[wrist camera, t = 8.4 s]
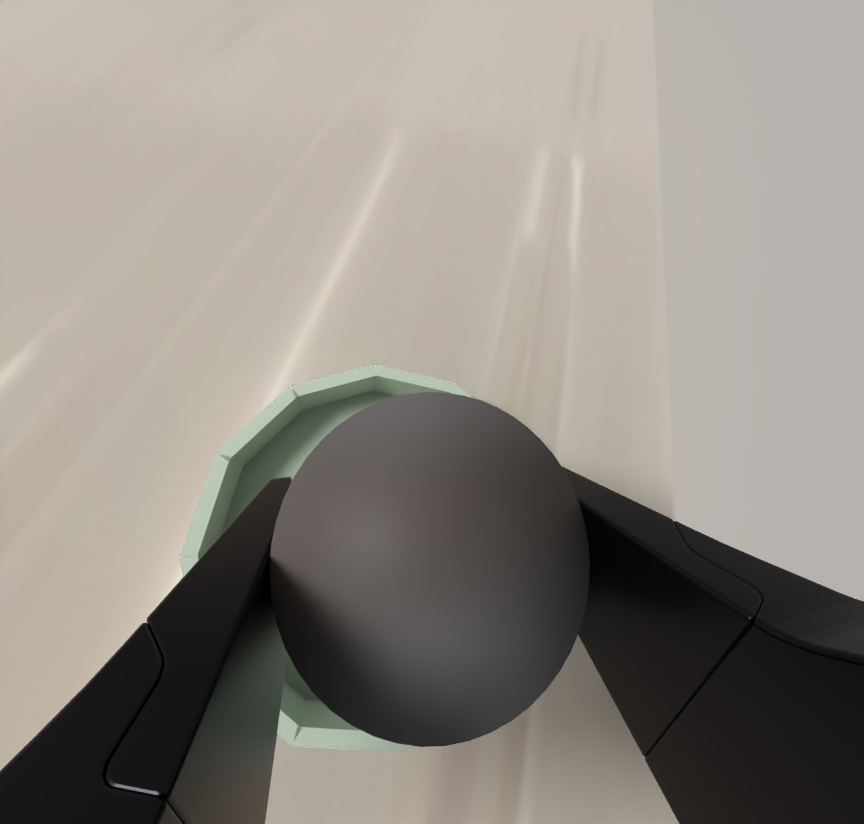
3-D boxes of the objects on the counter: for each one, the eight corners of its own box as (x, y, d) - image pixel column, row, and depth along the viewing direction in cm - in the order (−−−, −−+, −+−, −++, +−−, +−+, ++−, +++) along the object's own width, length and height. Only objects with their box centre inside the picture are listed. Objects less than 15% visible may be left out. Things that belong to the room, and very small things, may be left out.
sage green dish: (566, 508, 18) (599, 506, 16) (398, 793, 13) (410, 850, 11) (368, 338, 18) (371, 311, 16) (131, 560, 13) (87, 568, 11)
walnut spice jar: (471, 558, 15) (643, 604, 6) (352, 638, 13) (371, 848, 5) (411, 445, 15) (492, 350, 7) (291, 506, 14) (210, 476, 5)
